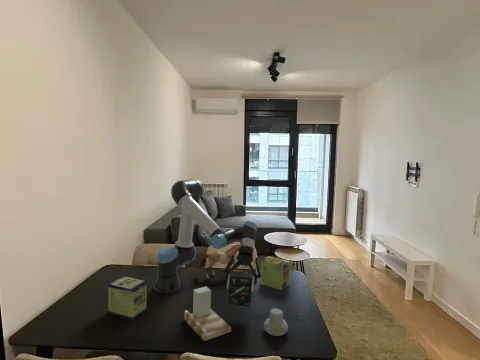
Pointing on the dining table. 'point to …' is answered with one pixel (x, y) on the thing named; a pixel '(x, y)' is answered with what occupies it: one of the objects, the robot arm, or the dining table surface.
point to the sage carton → (201, 301)
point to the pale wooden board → (207, 325)
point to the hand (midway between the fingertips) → (239, 289)
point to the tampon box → (240, 287)
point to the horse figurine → (219, 258)
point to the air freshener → (276, 323)
